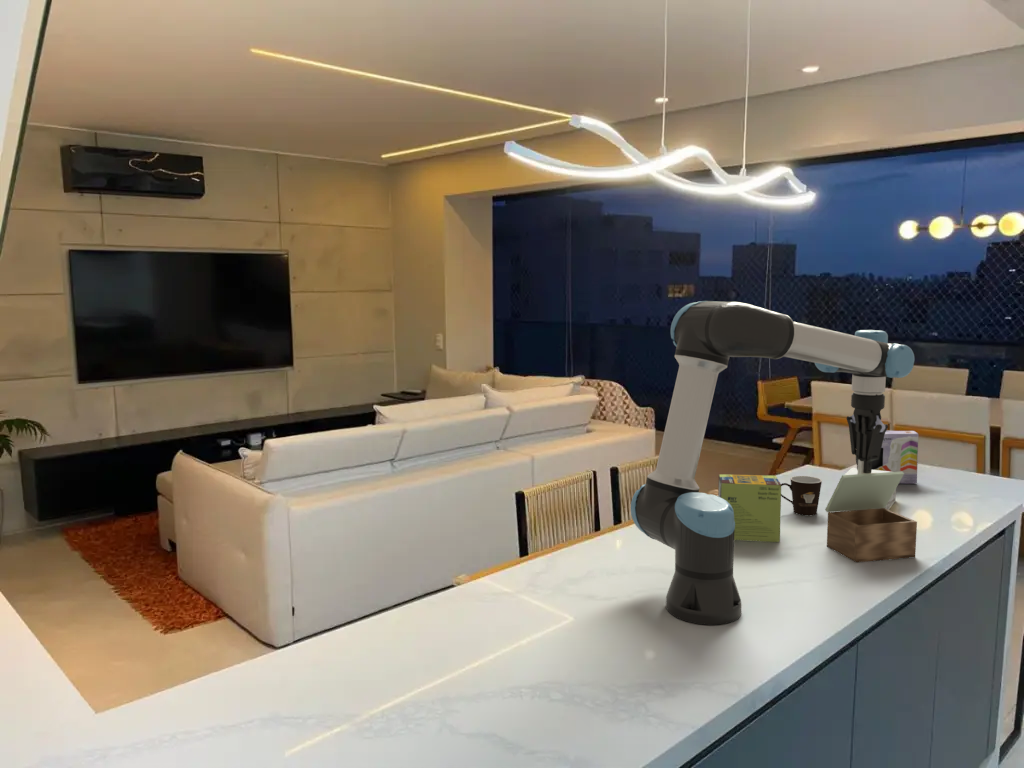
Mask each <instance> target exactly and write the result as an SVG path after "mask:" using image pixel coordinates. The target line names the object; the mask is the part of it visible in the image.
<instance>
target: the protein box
mask: <svg viewBox="0 0 1024 768" xmlns="http://www.w3.org/2000/svg"><path fill="white" fill-rule="evenodd" d="M781 484H782V483H781V482H780V480H779V479H778V477H777V475H762V474H761V475H759V474H755V475H754V474H718V486H717V487H718V495H717V496H718V497H720V498H723V499H724V500H726V501H727V502H728V503H729V504H730V505H731V506H732V508H733V511H734V521H735V530H734V541H744V542H745V541H746V542H761V543H762V542H765V543H780V542H781V512H782V511H781V510H782V509H781V508H782V505H781V504H782V496H781V494H782V486H781Z"/></svg>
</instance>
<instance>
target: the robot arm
mask: <svg viewBox="0 0 1024 768" xmlns="http://www.w3.org/2000/svg"><path fill="white" fill-rule="evenodd" d="M670 338H671V340H672V343H673V345H674V346H675V347H676V348H675V353H674V358H675V359H676V362H677V363H678V365H679V366H678V371H677V375H676V379H675V384H674V388H673V392H672V397H671V401H670V406H669V410H668V415H667V419H666V423H665V428H664V431H663V432H664V433H663V437H662V441H661V445H660V450H659V454H658V457H657V458H658V459H657V464H656V468H655V469H654V470H653V471H652V472H650V473H649V474H647V477H646V481H645V484H641V486H640V488H639V489H636V491H635V492H634V494H633V495H632V498H631V502H630V516H631V518H632V521H633V523H634V525H635V526H636V528H637V529H638V530H639V531H641V532H642V533H643V534H644V535H646V536H647V537H648V538H651V539H652V540H656V541H657V542H660V543H662V544H663V545H665V546H667V547H670V548H671V549H673V550H675V551H674V563H675V565H674V567H675V568H674V574H673V576H672V579H671V582H670V585H669V588H668V591H667V593H666V598H665V599H666V600H665V604H666V605H665V606H666V607H665V608H666V610H667V612H668V613H669V614H670V615H672V616H674V617H676V618H677V619H680V620H682V621H685V622H688V623H691V624H698V625H706V626H707V625H709V626H711V625H714V626H715V625H725V624H729V623H732V622H734V621H736V620H738V619H739V618H740V617H741V616H742V599H741V596H740V593H739V591H738V587H737V583H736V581H735V580H736V579H735V578H734V556H735V555H734V554H735V553H734V552H735V540H734V530H735V521H734V511H733V508H732V506H731V505H730V504H729V503H728V502H727V501H726V500H724V499H723V498H720V497H718V495H715V494H713V493H711V494H708V493H706V492H700V486H699V485H698V484H697V481H696V479H695V478H696V473H697V471H698V470H697V469H698V465H699V460H700V456H701V451H702V449H703V448H702V447H703V443H704V439H705V434H706V431H707V430H706V429H707V425H708V420H709V417H710V411H711V407H712V403H713V398H714V394H715V389H716V385H717V381H718V377H719V374H720V373H721V372H723V371H724V370H725V369H727V368H728V365H729V360H730V357H731V358H750V357H751V358H764V359H765V358H766V359H771V360H778V359H781V358H790V359H794V360H800V361H805V362H809V363H814V365H815V367H816V368H817V369H818V370H819V371H821V372H823V373H833V374H835V373H848V374H852V377H851V391H853V392H852V393H851V396H850V397H851V399H850V406H851V408H852V409H854V410H853V414H852V415H848V416H846V422H847V425H848V430H849V440H850V450H851V454H852V455H855V459H856V458H857V464H856V468H857V470H858V474H868V473H871V471H872V461H873V460H877V459H879V455H880V451H881V447H882V443H883V439H884V435H885V432H886V431H888V429H889V425H888V423H884V422H883V421H882V416H881V411H882V410H883V409H885V404H886V402H885V401H886V395H885V394H884V393H885V392H886V380H887V378H891V379H893V378H894V379H896V378H897V379H901V378H904V377H907V376H908V375H909V374H910V373H911V372H912V370H913V368H914V364H915V354H914V351H913V350H912V348H911V347H910V346H908V345H906V344H899V343H897V342H894V343H889V342H888V341H889V335H888V333H887V331H884V330H881V329H879V330H875V329H860V330H856V331H855V332H854V335H853V334H849V333H845V332H840V331H835V330H832V329H829V328H824V327H819V326H815V325H810V324H806V323H801V322H796V321H793V319H792V317H790V316H789V315H788V314H784V313H780V312H777V311H774V310H769V309H767V308H763V307H760V306H758V305H757V306H756V305H753V304H750V303H746V302H740V301H713V300H702V301H697V302H696V301H695V302H690V303H688V304H685V305H684V306H683V307H682V308H680V309H679V310H678V311H677V313H675V315H674V317H673V320H672V322H671V325H670Z"/></svg>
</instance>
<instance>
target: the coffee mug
mask: <svg viewBox="0 0 1024 768" xmlns="http://www.w3.org/2000/svg"><path fill="white" fill-rule="evenodd" d="M822 483H823V480H822V479H821V478H819V477H815V476H811V475H810V476H809V475H794V476H791V477H790V484H789V483H786V482H783V483H780V484H781V487H783V486H787V487H789V489H790V491H791V498H792V500H791V499H789V498H788V497H786V496H785V495H784V494H782V493H781V498H783V499H785V500H786V501H787V502H789V503H791V505H792V508H793V509H792V511H793V513H794V512H795V513H794V514H796V513H797V514H796V515H799V514H800V515H799V516H805V515H808V516H809V517H811V516H810V515H812V516H816V515H817V513H818V508H819V501H820V494H821V489H822ZM808 516H807V517H808Z"/></svg>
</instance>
